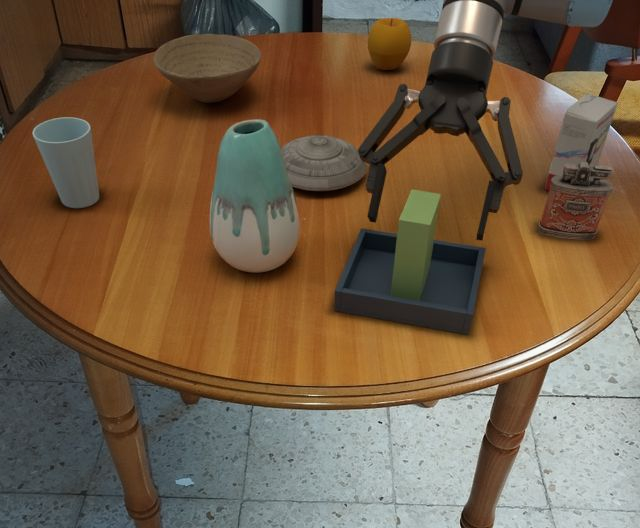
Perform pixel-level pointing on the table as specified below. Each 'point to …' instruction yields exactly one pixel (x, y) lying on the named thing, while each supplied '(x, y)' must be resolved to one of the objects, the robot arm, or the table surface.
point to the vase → (253, 200)
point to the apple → (389, 43)
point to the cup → (69, 159)
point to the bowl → (208, 64)
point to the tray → (438, 294)
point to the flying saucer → (322, 163)
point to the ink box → (582, 134)
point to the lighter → (576, 201)
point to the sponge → (415, 244)
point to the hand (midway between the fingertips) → (424, 228)
